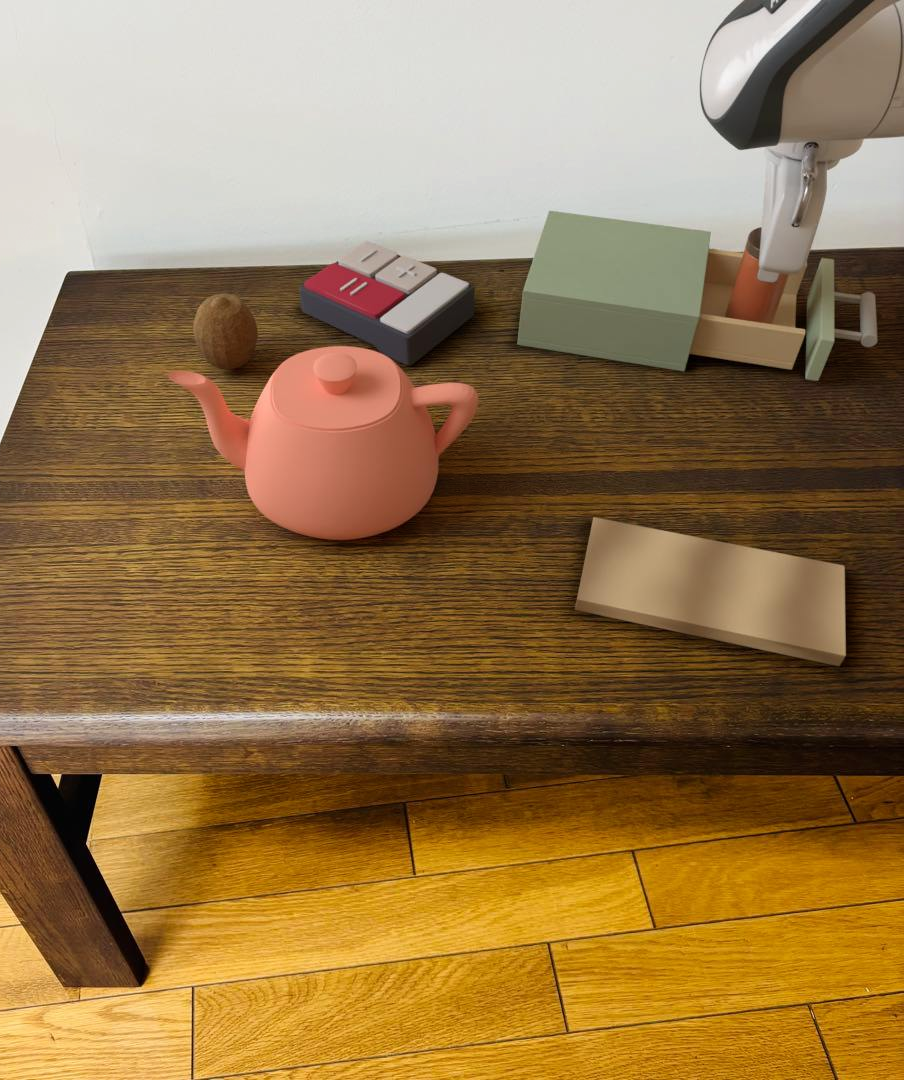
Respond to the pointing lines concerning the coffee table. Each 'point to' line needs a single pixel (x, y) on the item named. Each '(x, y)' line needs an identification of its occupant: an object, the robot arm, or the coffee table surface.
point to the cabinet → (615, 290)
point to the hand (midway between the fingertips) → (767, 259)
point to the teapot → (337, 441)
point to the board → (715, 590)
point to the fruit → (225, 331)
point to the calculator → (389, 301)
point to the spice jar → (754, 287)
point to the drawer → (776, 320)
